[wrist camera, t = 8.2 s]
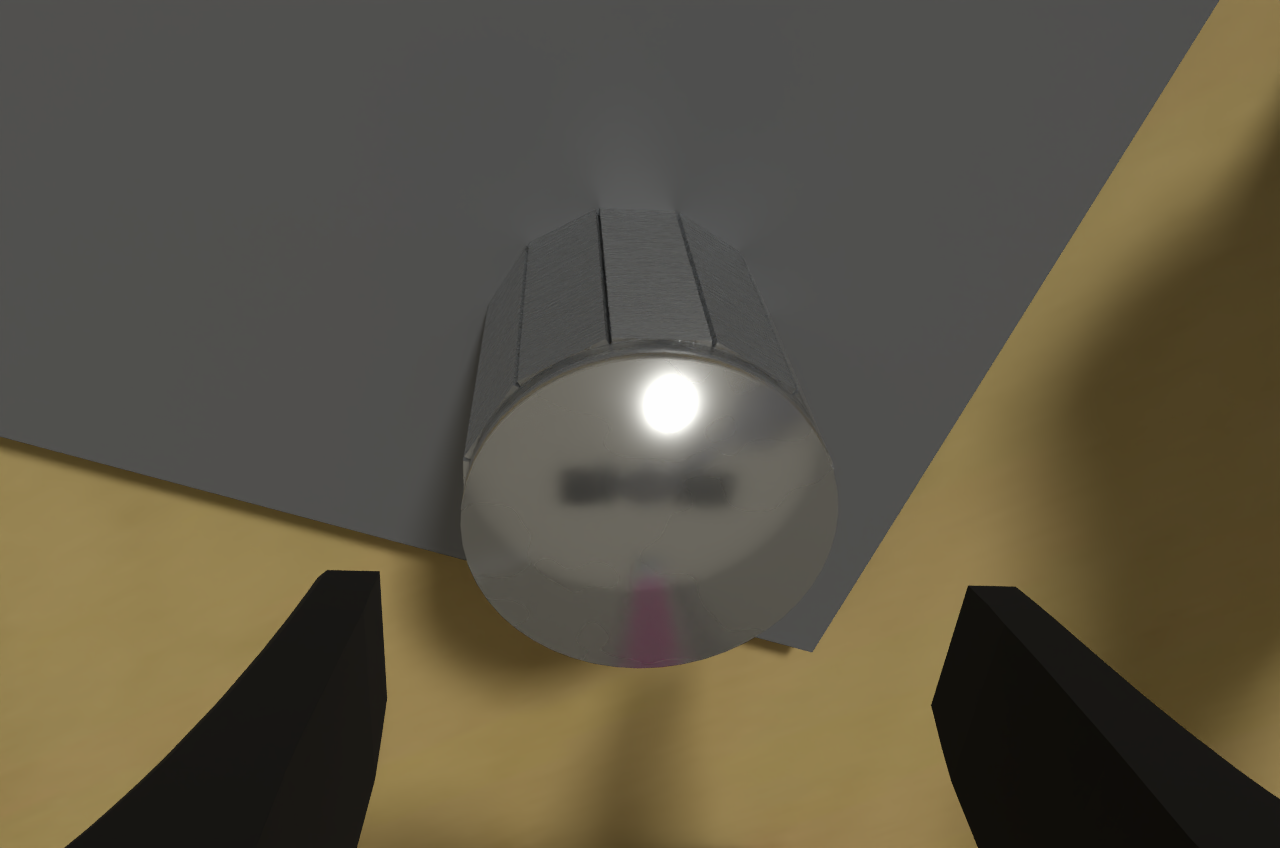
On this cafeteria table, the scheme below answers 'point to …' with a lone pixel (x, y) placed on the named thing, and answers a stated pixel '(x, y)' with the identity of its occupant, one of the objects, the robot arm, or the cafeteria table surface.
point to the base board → (526, 217)
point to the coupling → (640, 448)
